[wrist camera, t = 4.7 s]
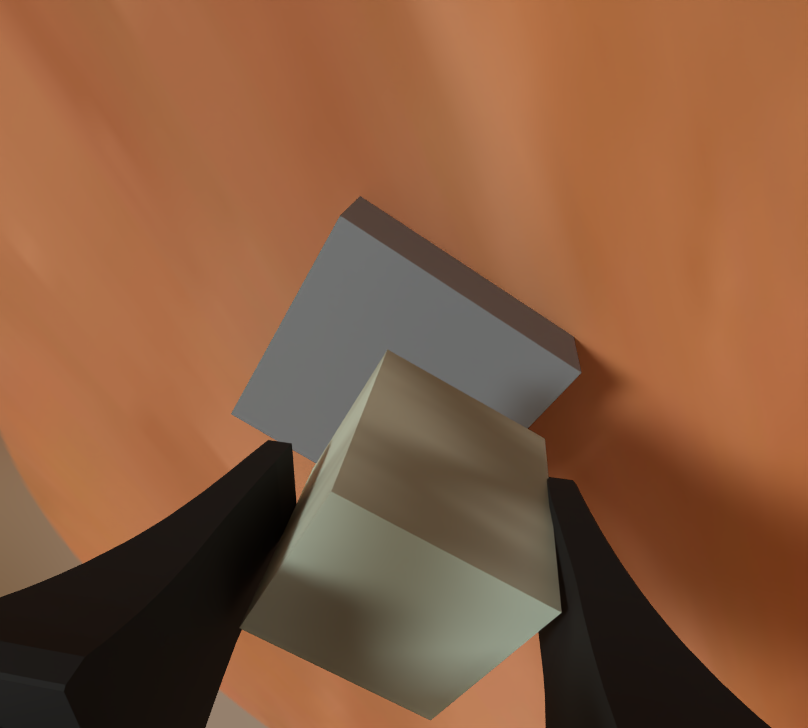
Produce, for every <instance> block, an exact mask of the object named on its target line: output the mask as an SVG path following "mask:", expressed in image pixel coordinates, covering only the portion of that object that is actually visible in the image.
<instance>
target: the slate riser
mask: <svg viewBox="0 0 808 728" xmlns="http://www.w3.org/2000/svg"><path fill="white" fill-rule="evenodd" d="M387 349H388V350H389V351H391V352H393V353H395V354H396V355H398V356H400V357H402V358H404V359H405V360H407V361H409V362H411V363H412V364H414V365H416V366H418V367H419V368H421V369H423V370H425V371H426V372H428V373H430V374H432V375H434V376H435V377H437V378H439V379H441V380H442V381H444V382H446V383H448V384H449V385H451V386H453V387H455V388H456V389H458V390H460V391H462V392H464V393H465V394H467V395H469V396H471V397H472V398H474V399H476V400H478V401H479V402H481V403H483V404H485V405H486V406H488V407H490V408H492V409H494V410H495V411H497V412H499V413H501V414H502V415H504V416H506V417H508V418H509V419H511V420H513V421H515V422H516V423H518V424H520V425H522V426H524V427H525V428H527V429H528V428H529V427H530V426H531V425H532V423H533V422H534V421H535V420H536V419H537V418H538V417H539V416H540V415H541V414H542V413H543V412H544V411H545V410H546V409H547V408H548V407H549V406H550V405H551V404H552V403H553V402H554V401H555V400H556V399H557V398H558V396H559V395H560V394H561V393H562V392H563V391H564V390H565V389H566V388H567V387H568V386H569V385H570V384H571V383H572V382H573V381H574V380H575V379H576V378H577V377H578V376H579V375H580V374H581V369H580V364H579V359H578V354H577V350H576V345H575V340H574V337H573V336H572V335H570V334H569V333H567V332H566V331H564V330H563V329H561V328H560V327H558V326H557V325H555V324H554V323H552V322H551V321H549V320H548V319H546V318H544V317H543V316H541V315H540V314H538V313H537V312H535V311H534V310H532V309H531V308H529V307H528V306H526V305H525V304H523V303H522V302H520V301H519V300H517V299H516V298H514V297H513V296H511V295H510V294H508V293H507V292H505V291H503V290H502V289H500V288H499V287H497V286H496V285H494V284H493V283H491V282H490V281H488V280H487V279H485V278H484V277H482V276H481V275H479V274H478V273H476V272H475V271H473V270H472V269H470V268H469V267H467V266H466V265H464V264H462V263H461V262H459V261H458V260H456V259H455V258H453V257H452V256H450V255H449V254H447V253H446V252H444V251H443V250H441V249H440V248H438V247H437V246H435V245H434V244H432V243H431V242H429V241H428V240H426V239H425V238H423V237H421V236H420V235H418V234H417V233H415V232H414V231H412V230H411V229H409V228H408V227H406V226H405V225H403V224H402V223H400V222H399V221H397V220H396V219H394V218H393V217H391V216H390V215H388V214H387V213H385V212H384V211H382V210H380V209H379V208H377V207H376V206H374V205H373V204H371V203H370V202H368V201H367V200H365V199H364V198H362V197H361V196H360V197H359V198H358V199H357V200H356V201H355V202H354V203H353V204H352V205H351V206H350V207H349V208H347V209H346V210H345V211H344V212H343V213H342V214H341V215H340V217H339V219H338V220H337V222H336V224H335V226H334V228H333V230H332V231H331V233H330V235H329V237H328V239H327V240H326V242H325V244H324V246H323V248H322V250H321V251H320V253H319V255H318V257H317V259H316V260H315V262H314V264H313V266H312V268H311V270H310V271H309V273H308V275H307V277H306V279H305V280H304V282H303V284H302V286H301V288H300V290H299V291H298V293H297V295H296V297H295V299H294V300H293V302H292V304H291V306H290V308H289V310H288V311H287V313H286V315H285V317H284V319H283V320H282V322H281V324H280V326H279V328H278V330H277V331H276V333H275V335H274V337H273V339H272V340H271V342H270V344H269V346H268V348H267V350H266V351H265V353H264V355H263V357H262V359H261V360H260V362H259V364H258V366H257V368H256V370H255V371H254V373H253V375H252V377H251V379H250V380H249V382H248V384H247V386H246V388H245V390H244V391H243V393H242V395H241V397H240V399H239V401H238V402H237V404H236V406H235V408H234V410H233V411H232V413H231V414H232V415H234V416H235V417H237V418H239V419H241V420H242V421H244V422H246V423H247V424H249V425H251V426H253V427H254V428H256V429H258V430H260V431H261V432H263V433H265V434H266V435H268V436H270V437H272V438H273V439H275V440H277V441H278V442H286V443H292V450H294V451H296V452H297V453H299V454H301V455H303V456H304V457H306V458H308V459H310V460H311V461H313V462H315V463H317V461H318V460H319V458H320V456H321V455H322V453H323V452H324V450H325V449H326V447H327V445H328V444H329V442H330V441H331V439H332V437H333V436H334V434H335V433H336V431H337V429H338V428H339V426H340V425H341V423H342V421H343V420H344V418H345V417H346V415H347V413H348V412H349V410H350V409H351V407H352V405H353V404H354V402H355V401H356V399H357V397H358V396H359V394H360V393H361V391H362V389H363V388H364V386H365V385H366V383H367V381H368V380H369V378H370V377H371V375H372V373H373V372H374V370H375V369H376V367H377V365H378V364H379V362H380V361H381V359H382V357H383V356H384V354H385V353H386V351H387Z"/></svg>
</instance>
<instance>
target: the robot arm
mask: <svg viewBox="0 0 808 728" xmlns="http://www.w3.org/2000/svg"><path fill="white" fill-rule="evenodd" d="M547 487H548V498H549V508H550V513H551V518H552V523H553V529H554V539H555V549H556V560H557V570H558V580H559V591H560V601H561V611H562V613H560V614H559V615H558V616H557V617H556V618H554V619H553V620H552V621H551V622H550V623H548V624H547V625H546V626H545V627H543V628H542V629H541V630H540V631H539V641H540V649H541V658H542V666H543V675H544V689H545V718H546V728H771V727H770V726H769V725H768V724H766V723H765V722H764V721H763V720H762V719H760V718H759V717H758V716H757V715H756V714H755V713H754V712H752V711H751V710H750V709H749V708H748V707H747V706H746V705H745V704H744V703H743V702H742V701H741V700H739V699H738V698H737V697H736V696H735V695H734V694H733V693H732V692H731V691H730V690H729V689H728V688H727V687H725V686H724V685H723V684H722V683H721V682H720V681H719V680H718V679H717V678H716V677H715V676H714V675H713V674H712V673H711V672H710V671H709V669H708V668H707V667H706V666H705V665H704V664H703V663H702V662H701V661H700V660H699V659H698V658H697V657H696V656H695V655H694V654H693V653H692V652H691V651H690V650H689V649H688V648H687V647H686V646H685V644H684V643H683V642H682V641H681V640H680V639H679V638H678V636H677V635H676V634H675V633H674V632H673V631H672V630H671V628H670V627H669V626H668V625H667V624H666V622H665V621H664V620H663V619H662V618H661V616H660V615H659V614H658V613H657V611H656V610H655V609H654V608H653V606H652V605H651V604H650V603H649V601H648V600H647V599H646V597H645V596H644V595H643V593H642V592H641V591H640V589H639V588H638V587H637V585H636V584H635V582H634V581H633V579H632V578H631V577H630V575H629V574H628V572H627V571H626V569H625V568H624V566H623V565H622V563H621V562H620V560H619V559H618V557H617V556H616V554H615V553H614V551H613V549H612V548H611V546H610V545H609V543H608V541H607V540H606V538H605V537H604V535H603V533H602V531H601V530H600V528H599V526H598V525H597V523H596V521H595V519H594V517H593V516H592V514H591V512H590V510H589V508H588V506H587V505H586V503H585V501H584V499H583V497H582V495H581V493H580V491H579V489H578V487H577V485H576V483H575V482H574V481H573V480H567V479H559V478H552V477H549V478H548V479H547ZM295 506H296V491H295V478H294V465H293V452H292V443H286V442H278V441H271V440H268V441H267V442H265V443H264V444H263V445H261V446H260V447H259V448H258V449H256V450H255V451H254V452H253V453H251V454H250V455H249V456H248V457H246V458H245V459H244V460H243V461H242V462H240V463H239V464H238V465H237V466H235V467H234V468H233V469H232V470H230V471H229V472H228V473H227V474H225V475H224V476H223V477H222V478H220V479H219V480H218V481H216V482H215V483H214V484H213V485H211V486H210V487H209V488H207V489H206V490H205V491H204V492H202V493H201V494H200V495H198V496H197V497H195V498H194V499H193V500H191V501H190V502H188V503H187V504H185V505H184V506H183V507H181V508H180V509H178V510H177V511H176V512H174V513H173V514H171V515H170V516H168V517H167V518H165V519H164V520H162V521H160V522H159V523H157V524H156V525H154V526H152V527H151V528H149V529H147V530H146V531H144V532H142V533H140V534H139V535H137V536H135V537H134V538H132V539H130V540H128V541H126V542H125V543H123V544H121V545H119V546H117V547H115V548H113V549H111V550H109V551H107V552H105V553H103V554H101V555H99V556H97V557H95V558H93V559H91V560H90V561H88V562H85V563H83V564H81V565H79V566H77V567H75V568H72V569H70V570H68V571H66V572H64V573H62V574H59V575H57V576H54V577H52V578H50V579H47V580H45V581H42V582H40V583H37V584H35V585H33V586H30V587H27V588H25V589H22V590H20V591H17V592H14V593H11V594H8V595H6V596H3V597H0V728H205V727H206V724H207V721H208V718H209V716H210V713H211V710H212V707H213V704H214V701H215V698H216V696H217V693H218V690H219V687H220V685H221V682H222V679H223V676H224V674H225V671H226V668H227V666H228V663H229V660H230V658H231V655H232V652H233V650H234V647H235V644H236V642H237V639H238V637H239V635H240V633H241V630H242V629H240V626H241V623H242V621H243V619H244V617H245V615H246V613H247V610H248V608H249V606H250V604H251V602H252V600H253V597H254V595H255V593H256V591H257V589H258V587H259V584H260V582H261V580H262V578H263V576H264V574H265V571H266V569H267V567H268V565H269V563H270V561H271V558H272V556H273V554H274V552H275V550H276V548H277V545H278V543H279V541H280V539H281V537H282V535H283V533H284V530H285V528H286V526H287V524H288V522H289V520H290V517H291V515H292V513H293V511H294V509H295Z"/></svg>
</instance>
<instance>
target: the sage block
mask: <svg viewBox="0 0 808 728" xmlns="http://www.w3.org/2000/svg"><path fill="white" fill-rule="evenodd" d="M548 478H549V477H548V466H547V456H546V446H545V438H543V437H541V436H539V435H538V434H536V433H534V432H532V431H531V430H529V429H527V428H525V427H524V426H522V425H520V424H518V423H516V422H515V421H513V420H511V419H509V418H508V417H506V416H504V415H502V414H501V413H499V412H497V411H495V410H494V409H492V408H490V407H488V406H486V405H485V404H483V403H481V402H479V401H478V400H476V399H474V398H472V397H471V396H469V395H467V394H465V393H464V392H462V391H460V390H458V389H456V388H455V387H453V386H451V385H449V384H448V383H446V382H444V381H442V380H441V379H439V378H437V377H435V376H434V375H432V374H430V373H428V372H426V371H425V370H423V369H421V368H419V367H418V366H416V365H414V364H412V363H411V362H409V361H407V360H405V359H404V358H402V357H400V356H398V355H396V354H395V353H393V352H391V351H389V350H388V349H387V351H386V353H385V354H384V356H383V357H382V359H381V361H380V362H379V364H378V365H377V367H376V369H375V370H374V372H373V373H372V375H371V377H370V378H369V380H368V381H367V383H366V385H365V386H364V388H363V389H362V391H361V393H360V394H359V396H358V397H357V399H356V401H355V402H354V404H353V405H352V407H351V409H350V410H349V412H348V413H347V415H346V417H345V418H344V420H343V421H342V423H341V425H340V426H339V428H338V429H337V431H336V433H335V434H334V436H333V437H332V439H331V441H330V442H329V444H328V445H327V447H326V449H325V450H324V452H323V453H322V455H321V456H320V458H319V460H318V461H317V463H316V464H315V466H314V468H313V469H312V472H311V474H310V476H309V478H308V480H307V482H306V485H305V487H304V489H303V491H302V493H301V495H300V498H299V500H298V502H297V504H296V506H295V509H294V511H293V513H292V515H291V517H290V520H289V522H288V524H287V526H286V528H285V530H284V533H283V535H282V537H281V539H280V541H279V543H278V545H277V548H276V550H275V552H274V554H273V556H272V558H271V561H270V563H269V565H268V567H267V569H266V571H265V574H264V576H263V578H262V580H261V582H260V584H259V587H258V589H257V591H256V593H255V595H254V597H253V600H252V602H251V604H250V606H249V608H248V610H247V613H246V615H245V617H244V619H243V621H242V623H241V626H240V629H242V630H244V631H247V632H249V633H251V634H253V635H255V636H257V637H259V638H261V639H263V640H265V641H267V642H269V643H271V644H273V645H275V646H278V647H280V648H282V649H284V650H286V651H288V652H290V653H292V654H294V655H296V656H298V657H300V658H302V659H304V660H307V661H309V662H311V663H313V664H315V665H317V666H319V667H321V668H323V669H325V670H327V671H329V672H331V673H333V674H336V675H338V676H340V677H342V678H344V679H346V680H348V681H350V682H352V683H354V684H356V685H358V686H360V687H362V688H365V689H367V690H369V691H371V692H373V693H375V694H377V695H379V696H381V697H383V698H385V699H387V700H389V701H391V702H394V703H396V704H398V705H400V706H402V707H404V708H406V709H408V710H410V711H412V712H414V713H416V714H418V715H420V716H422V717H425V718H427V719H429V720H432V719H433V718H434V717H435V716H437V715H438V714H439V713H440V712H441V711H443V710H444V709H445V708H446V707H447V706H449V705H450V704H451V703H452V702H454V701H455V700H456V699H457V698H458V697H460V696H461V695H462V694H463V693H464V692H466V691H467V690H468V689H469V688H471V687H472V686H473V685H474V684H475V683H477V682H478V681H479V680H480V679H481V678H483V677H484V676H485V675H486V674H488V673H489V672H490V671H491V670H492V669H494V668H495V667H496V666H497V665H498V664H500V663H501V662H502V661H503V660H505V659H506V658H507V657H508V656H509V655H511V654H512V653H513V652H514V651H515V650H517V649H518V648H519V647H520V646H522V645H523V644H524V643H525V642H526V641H528V640H529V639H530V638H531V637H533V636H534V635H535V634H536V633H537V632H539V631H540V630H541V629H542V628H543V627H545V626H546V625H547V624H548V623H550V622H551V621H552V620H553V619H554V618H556V617H557V616H558V615H559V614H560V613H562V611H561V601H560V591H559V580H558V570H557V560H556V549H555V539H554V529H553V523H552V518H551V513H550V508H549V498H548V487H547V479H548Z"/></svg>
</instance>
